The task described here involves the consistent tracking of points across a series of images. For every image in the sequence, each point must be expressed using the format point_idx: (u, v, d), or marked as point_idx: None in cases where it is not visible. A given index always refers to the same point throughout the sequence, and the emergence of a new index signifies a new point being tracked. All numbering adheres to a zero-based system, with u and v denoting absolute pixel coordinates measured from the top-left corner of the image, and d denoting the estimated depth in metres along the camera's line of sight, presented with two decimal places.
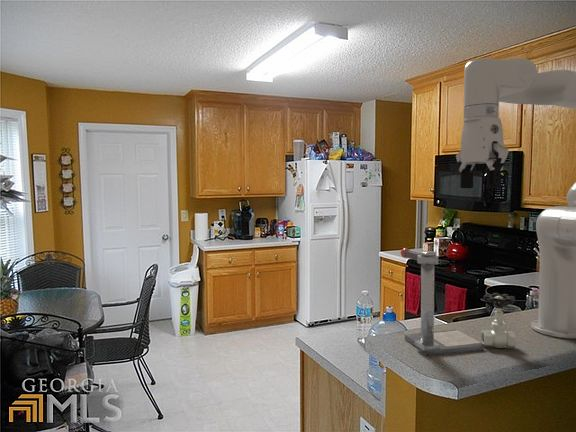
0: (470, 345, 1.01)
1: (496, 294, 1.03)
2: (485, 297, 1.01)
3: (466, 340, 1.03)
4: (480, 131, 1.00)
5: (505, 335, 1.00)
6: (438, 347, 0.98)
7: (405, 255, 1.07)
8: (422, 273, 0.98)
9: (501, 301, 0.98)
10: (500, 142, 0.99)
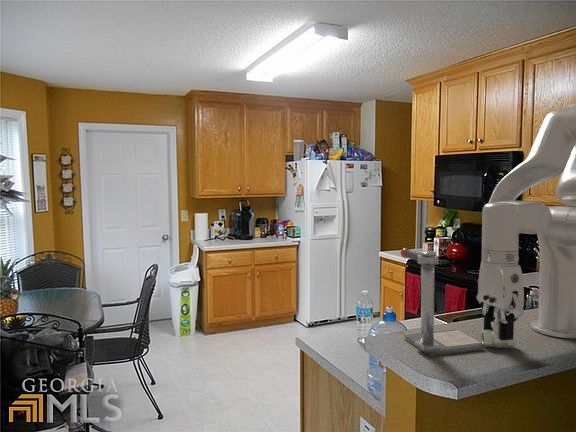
0: (470, 345, 1.01)
1: None
2: (485, 297, 1.01)
3: (466, 340, 1.03)
4: (499, 278, 0.97)
5: None
6: (438, 347, 0.98)
7: (405, 255, 1.07)
8: (422, 273, 0.98)
9: None
10: (520, 291, 0.97)
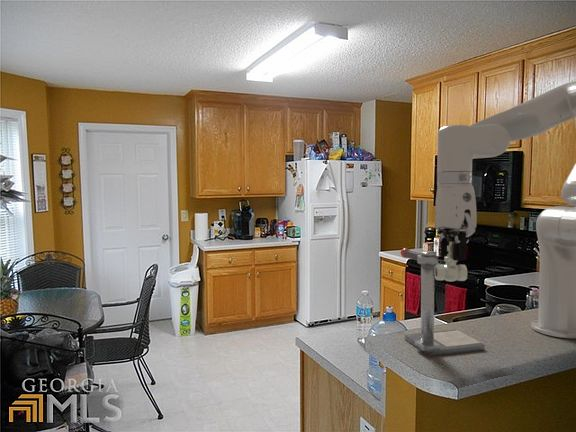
0: (470, 345, 1.01)
1: (449, 229, 1.05)
2: (439, 231, 1.03)
3: (466, 340, 1.03)
4: (453, 198, 0.99)
5: (457, 268, 1.02)
6: (438, 347, 0.98)
7: (405, 255, 1.07)
8: (422, 273, 0.98)
9: (454, 233, 1.00)
10: (473, 210, 0.98)
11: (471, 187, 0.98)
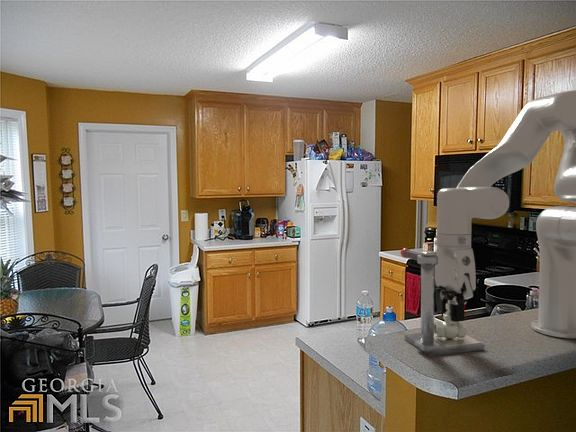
0: (470, 345, 1.01)
1: None
2: (437, 290, 1.04)
3: (466, 340, 1.03)
4: (452, 261, 1.00)
5: (456, 326, 1.03)
6: (438, 347, 0.98)
7: (405, 255, 1.07)
8: (422, 273, 0.98)
9: (452, 293, 1.01)
10: (472, 273, 0.99)
11: (470, 250, 0.99)
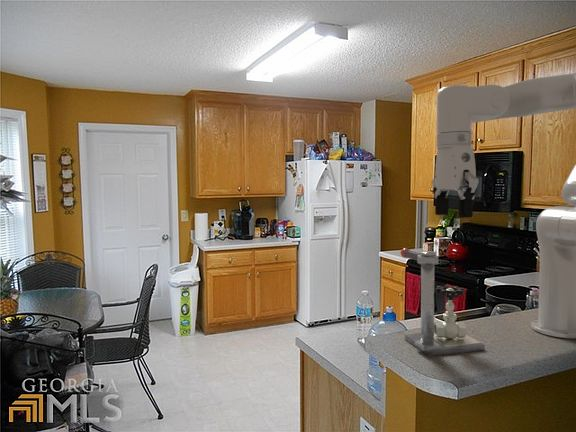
0: (470, 345, 1.01)
1: (447, 286, 1.06)
2: (437, 289, 1.04)
3: (466, 340, 1.03)
4: (451, 159, 0.99)
5: (456, 326, 1.03)
6: (438, 347, 0.98)
7: (405, 255, 1.07)
8: (422, 273, 0.98)
9: (452, 293, 1.01)
10: (472, 170, 0.98)
11: (470, 147, 0.98)
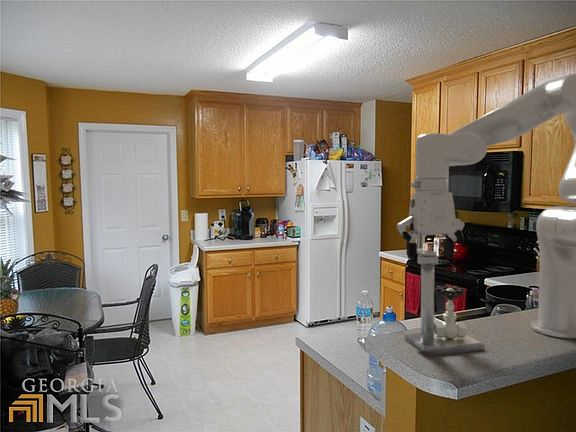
0: (470, 345, 1.01)
1: (447, 286, 1.06)
2: (437, 289, 1.04)
3: (466, 340, 1.03)
4: None
5: (456, 326, 1.03)
6: (438, 347, 0.98)
7: None
8: (422, 273, 0.98)
9: (452, 293, 1.01)
10: (414, 216, 1.03)
11: (417, 194, 1.03)
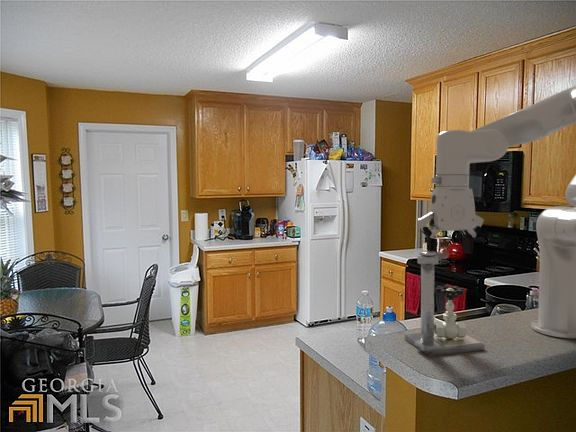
0: (470, 345, 1.01)
1: (447, 286, 1.06)
2: (437, 289, 1.04)
3: (466, 340, 1.03)
4: None
5: (456, 326, 1.03)
6: (438, 347, 0.98)
7: None
8: (422, 273, 0.98)
9: (452, 293, 1.01)
10: (435, 212, 1.04)
11: (438, 190, 1.04)
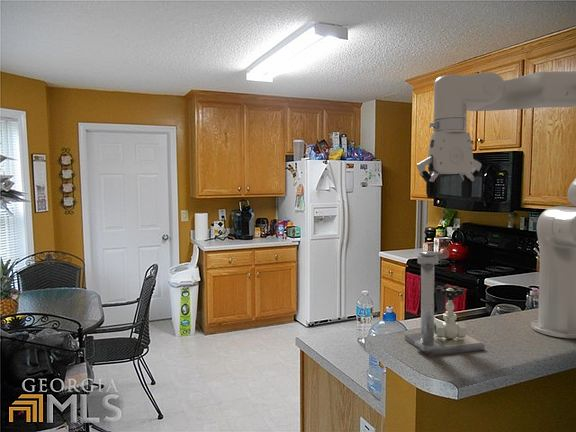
0: (470, 345, 1.01)
1: (447, 286, 1.06)
2: (437, 289, 1.04)
3: (466, 340, 1.03)
4: None
5: (456, 326, 1.03)
6: (438, 347, 0.98)
7: None
8: (422, 273, 0.98)
9: (452, 293, 1.01)
10: (434, 155, 1.06)
11: (436, 134, 1.06)
